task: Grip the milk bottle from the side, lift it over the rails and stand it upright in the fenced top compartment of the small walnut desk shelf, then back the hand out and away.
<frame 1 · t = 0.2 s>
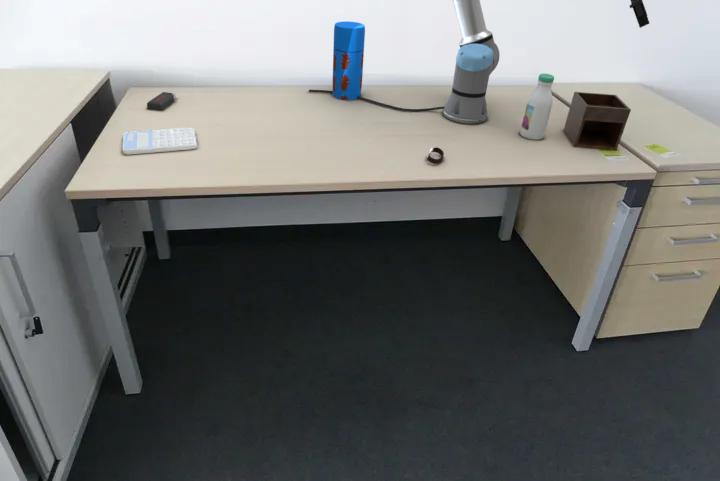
hand: (643, 21, 164), 36 cm above the table, tool tilted 35°, fingers open, 13 cm apart
shelf unit: (589, 140, 176), on the table
usb drive: (163, 104, 181), on the table
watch: (434, 160, 157), on the table
calculator: (160, 143, 156), on the table
milk bottle: (531, 136, 176), on the table
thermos: (346, 95, 199), on the table
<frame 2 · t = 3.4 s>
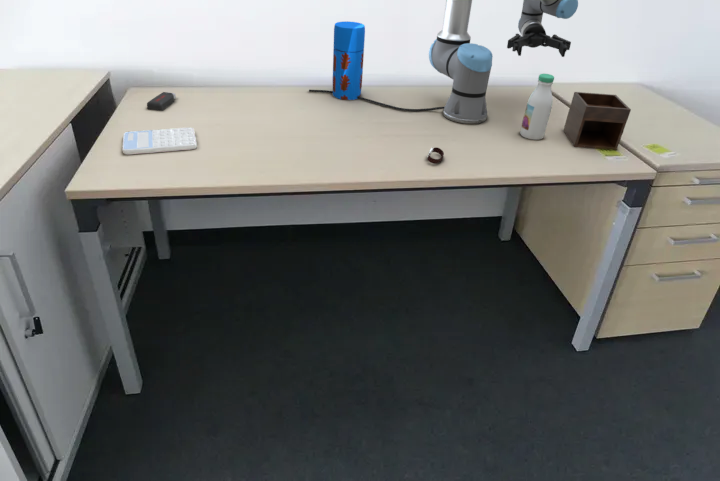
hand: (542, 52, 170), 25 cm above the table, tool horizontal, fingers open, 13 cm apart
nothing on the table moved.
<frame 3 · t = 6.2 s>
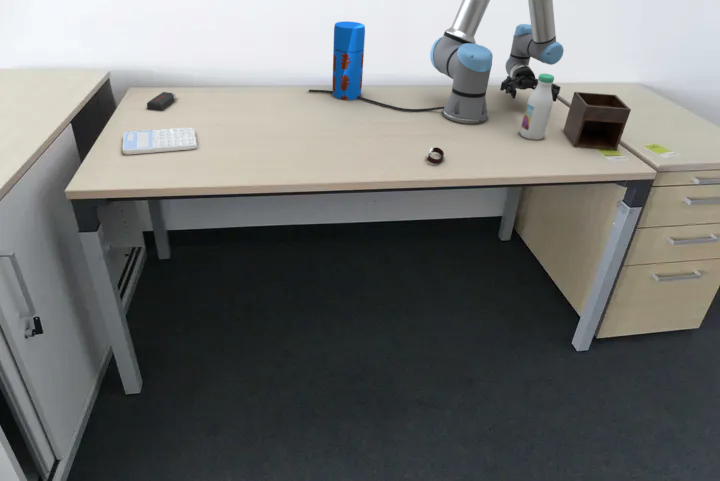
hand: (535, 96, 176), 11 cm above the table, tool horizontal, fingers open, 13 cm apart
nothing on the table moved.
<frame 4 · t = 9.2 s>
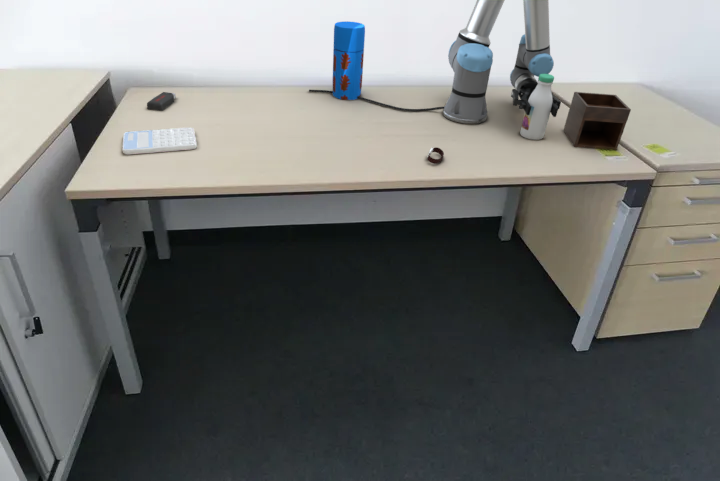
hand: (542, 111, 167), 10 cm above the table, tool horizontal, fingers closed on milk bottle, 8 cm apart
milk bottle: (531, 136, 176), on the table, touching gripper
everything else where it was.
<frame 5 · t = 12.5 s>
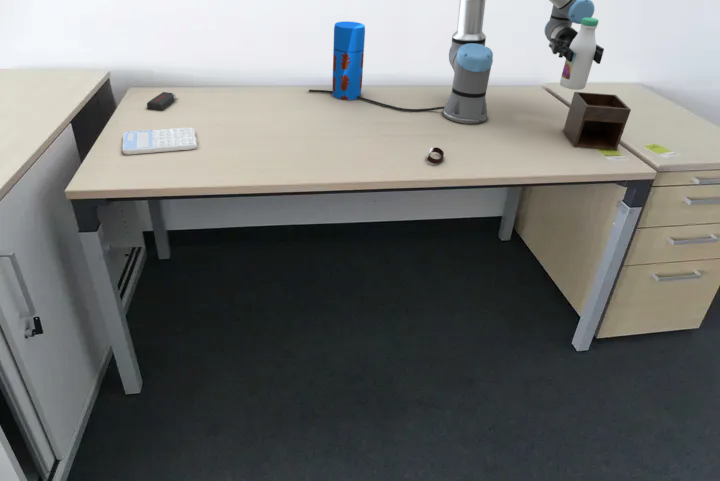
hand: (585, 58, 157), 27 cm above the table, tool horizontal, fingers closed on milk bottle, 8 cm apart
milk bottle: (571, 87, 166), point 17 cm above the table, touching gripper
everything else where it was.
when the fingers open (20 cm above the table, at t = 16.2 s): milk bottle stays where it is, resting on shelf unit.
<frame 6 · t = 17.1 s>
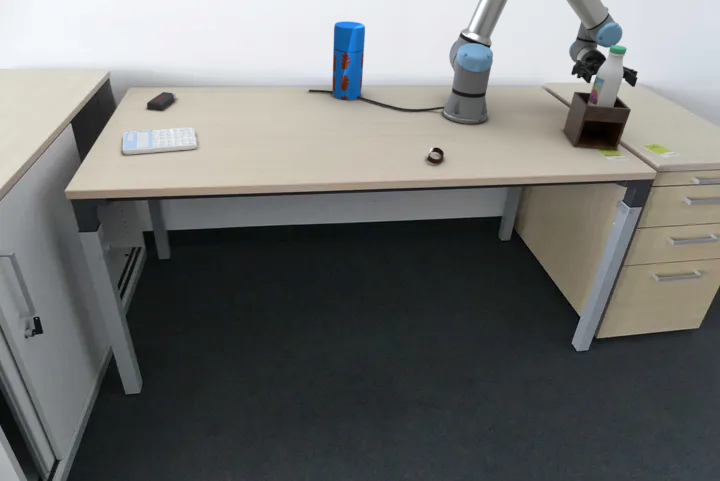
hand: (612, 80, 161), 21 cm above the table, tool horizontal, fingers open, 13 cm apart
milk bottle: (598, 111, 170), point 10 cm above the table, touching shelf unit
everything else where it was.
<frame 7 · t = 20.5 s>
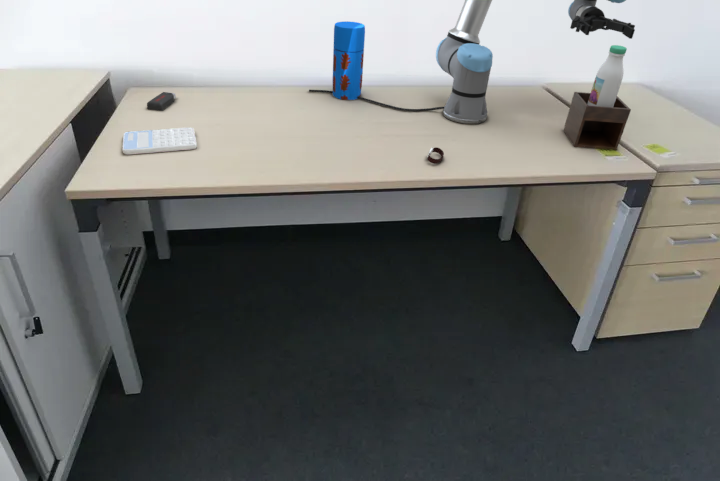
hand: (610, 32, 166), 32 cm above the table, tool horizontal, fingers open, 13 cm apart
nothing on the table moved.
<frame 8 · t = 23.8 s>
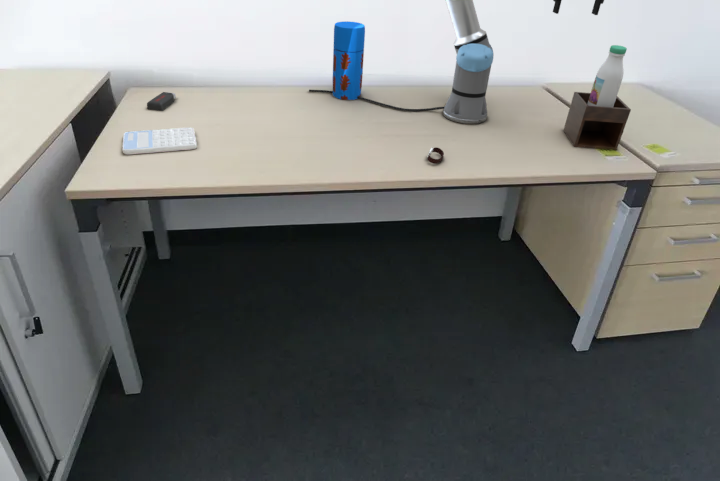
hand: (575, 13, 174), 35 cm above the table, tool pointing down, fingers open, 13 cm apart
nothing on the table moved.
at the end: milk bottle inside the target area on the shelf unit (0.0 cm from its centre), point 9.8 cm above the shelf unit's base; milk bottle tilted 0°; the gripper is holding nothing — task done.
